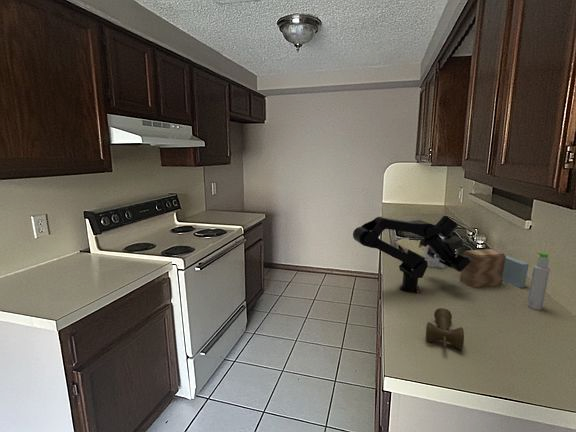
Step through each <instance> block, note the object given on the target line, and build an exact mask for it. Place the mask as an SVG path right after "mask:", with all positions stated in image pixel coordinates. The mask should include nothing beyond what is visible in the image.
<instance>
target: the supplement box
mask: <svg viewBox="0 0 576 432" xmlns="http://www.w3.org/2000/svg"><path fill="white" fill-rule="evenodd" d="M439 236H440V235H439ZM440 237H441V236H440ZM441 238H442V239H443V241H444V237H441ZM429 249H430V247H429V246H428V245H427V246H426V247H424V255H423V257H424V258H425V259H424V260H426V261H427V264H428V265H427V267H429V268H436V269H437V268H439V269H445V265H444V264H442V263H440V262H439V260H440V259H438V258H436V256H437V255H436V254H435V255H434V257H435V258H434V259H433V258H431V257H429V255H428V254H427V252H428V250H429Z"/></svg>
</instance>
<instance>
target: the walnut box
mask: <svg viewBox="0 0 576 432" xmlns="http://www.w3.org/2000/svg"><path fill="white" fill-rule="evenodd" d="M462 255H464V256H467V257H468V258H469V259H470V260H471V262H470V263H469V264H468V265H467V266H466V267H465V268H464V269H463V270H462V271H461V272H460V274H459V275H460V276H459V282H461V283H462V284H465V285H466V286H468V287H469V288H473V289H474V288H486V287H496V286H502V283H503V280H502V277H503V271H504V264H505V258H506V256H507V255H505V253H503V252H501V251H498V250H495V249H491V248H490V249H489V248H487V249H474V250H473V249H472V250H465V251H463V253H462Z"/></svg>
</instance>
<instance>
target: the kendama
mask: <svg viewBox="0 0 576 432" xmlns="http://www.w3.org/2000/svg"><path fill="white" fill-rule="evenodd" d="M433 317H434V319H435V320H434V321H435V324H436V325H435V324H433V323H432V322H427V324H426V327H425V328H426V329H425V341H426V343H432V342H437V341H438V342H439V341H440V342H442V344H443V347H444V348H447V343H449V344H450V345H452V346H454V347H455V348H456V349H458V350H459V351H463V348H464V344H465V332H464V328H463V327H457V328H454V329H448V328H450V327H451V325H452V324H453V323H452V322H453V321H452V318H453V315H452V313H451V311H450V310H449V309H447V308H441V307H439V308H436V309H435V311H434V315H433Z"/></svg>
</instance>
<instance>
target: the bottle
mask: <svg viewBox="0 0 576 432" xmlns="http://www.w3.org/2000/svg"><path fill="white" fill-rule="evenodd" d="M536 254H537V255H538V256H537V260H536V264H535V265H533V269H532V274H531V281H530V284H529V285H530V286H529V292H528V298H527V303H526V306H527V307H528V308H529V309H530V308H531V309H533V310H539V311H541V310H543V306H544V302H545V295H546V289H547V285H548V281H549V275H550V267H549V263H550V258H549V253H546V252H537V253H536Z"/></svg>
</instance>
